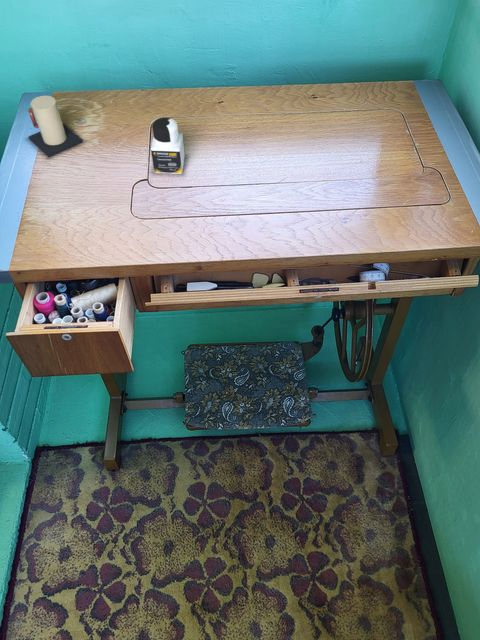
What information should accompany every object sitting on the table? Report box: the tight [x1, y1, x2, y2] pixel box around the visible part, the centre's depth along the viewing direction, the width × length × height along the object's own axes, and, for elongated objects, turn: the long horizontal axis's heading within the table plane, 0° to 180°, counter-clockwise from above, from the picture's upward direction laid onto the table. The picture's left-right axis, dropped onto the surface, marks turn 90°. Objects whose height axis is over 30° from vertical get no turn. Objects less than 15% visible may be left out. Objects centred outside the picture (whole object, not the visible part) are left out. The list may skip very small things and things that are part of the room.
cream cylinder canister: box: [27, 95, 67, 145], centre depth 134 cm, size 8×6×10 cm
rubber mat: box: [28, 123, 83, 158], centre depth 138 cm, size 10×10×1 cm
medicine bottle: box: [150, 117, 186, 175], centre depth 130 cm, size 7×7×12 cm
